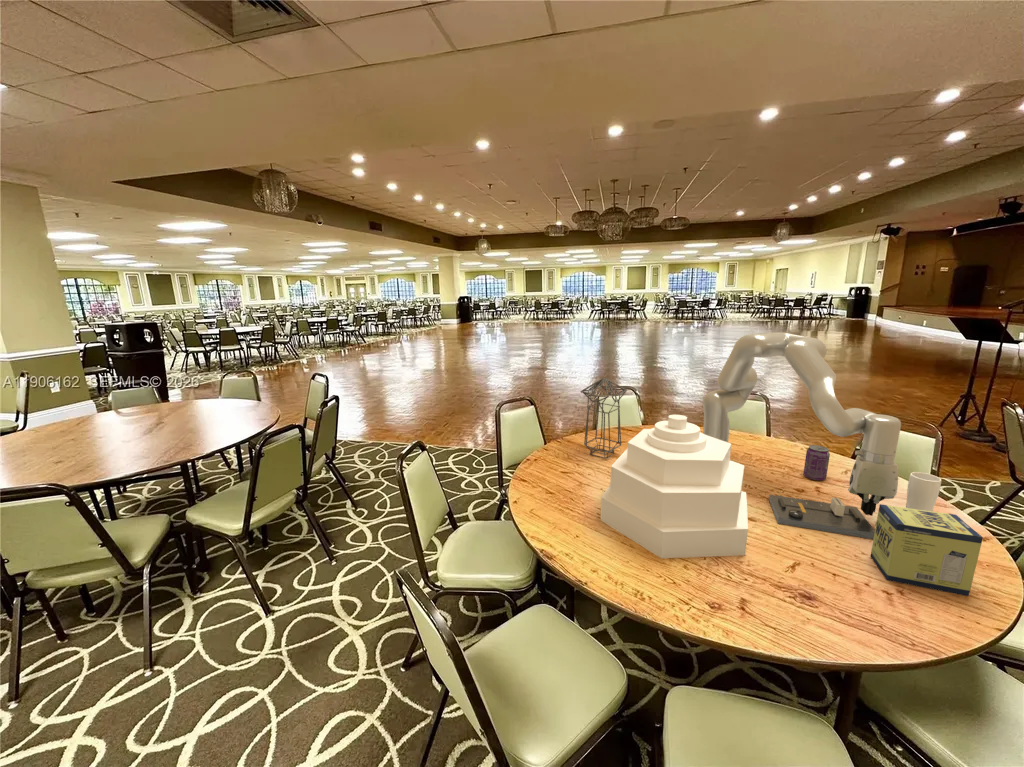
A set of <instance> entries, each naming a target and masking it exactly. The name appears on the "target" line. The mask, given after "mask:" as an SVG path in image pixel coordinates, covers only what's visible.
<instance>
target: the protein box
mask: <svg viewBox="0 0 1024 767" xmlns="http://www.w3.org/2000/svg"><path fill="white" fill-rule="evenodd" d="M877 511H878V512H877V518H876V523H875V528H874V530H875V534H874V539H872V540H873V541H872V544H871V550H870V551H871V552H870V559H871V560H872V561H873V562H874V564H875V565H876V567H877V568H878V570H879V571H880V572H881V574H882V576H883V577H884V580H886V581H890V582H894V583H899V584H905V585H910V586H913V587H919V588H924V589H928V590H929V589H930V590H935V591H939V592H944V593H950V594H955V595H960V596H965V597H969V596H970V592H971V588H972V585H973V580H974V576H975V572H976V569H977V564H978V560H979V556H980V552H981V547H982V543H983V538H984V537H983V536H982V535H981V534H980V533H979V532H978V531H976V530H975V529H973V528H972V527H971V526H970V525H968V524H967V523H966V521H964V520H963V519H962V518H961V517H960V516H958V515H957V514H955V513H946V512H938V511H925V510H917V509H910V508H906V507H903V506H902V507H901V506H894V505H890V504H889V505H888V504H883V503H882V504H880V503H879V506H878V510H877Z"/></svg>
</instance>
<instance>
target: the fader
mask: <svg viewBox="0 0 1024 767" xmlns="http://www.w3.org/2000/svg"><path fill="white" fill-rule="evenodd" d="M830 503H831V505H830V508H831V509H832V511H833V512H834V514H835V515H838V516H843V515H844V509H845V506H846V505H845V503H843V501H842V499H841V498H840V497H839V498H838V497H831V501H830Z"/></svg>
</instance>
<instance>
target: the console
mask: <svg viewBox="0 0 1024 767" xmlns="http://www.w3.org/2000/svg"><path fill="white" fill-rule="evenodd" d="M768 502H769V505H770V507H771V509H772V512H773V514H774V517H775V520H776V521H777V524H778V525H784V526H791V527H797V528H803V529H809V530H816V531H821V532H828V533H833V534H837V535H845V536H850V537H857V538H862V539H867V540H873V539H874V534H875V528H874V527H873V526H872V524H870V522H869V521H868V520H867V519H866V517H865V516H864V515H863V514H862V512H861V510H860V509H859V508H858V507H857V506H852V505H845V509H844V515H843V516H838V515H835V514H834V512H833V511H832V509H831V508H830V505H831V502H830V503H829V502H825V501H824V502H823V501H819V500H818V501H816V500H810V499H803V498H796V497H789V496H783V495H775V494H769V495H768Z"/></svg>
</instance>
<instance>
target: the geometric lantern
mask: <svg viewBox="0 0 1024 767" xmlns="http://www.w3.org/2000/svg"><path fill="white" fill-rule="evenodd" d="M603 384H604V385H603ZM615 386H617V387H618V388H616V387H615ZM598 388H599V389H598ZM597 389H598V391H597ZM601 389H603V390H604V391H605V392H606V395H599V393H600V391H601ZM590 391H591V392H590ZM596 391H597V393H596ZM614 391H615V392H614ZM627 391H628V390H627V389H626V388H625V387H623V386H620V385H619V384H617V383H615V382H613V381H612V380H610V379H608V378H606V377H603V378H600V379H599V380H597V381H595V382H594V383H592V384H590V385H589V386H587V387H585V388H583V389H582V390H580V393H581V394H583V395H584V396H585V397H587V406H586V409H587V412H586V413H587V415H586V424H585V433H584V441H583V442H584V443H583V444H584V446H585V447H586V449H589V451H590V452H589V455H591V456H593V457H597V458H602V459H608V458H610V457H611V456H612V455H614V454H615V450H616V449H618V448H619V447H621V446H622V435H621V434H622V433H621V430H622V429H621V410H620V408H621V406H620V400H621V399H622V397H624V395H625V394H626V393H627ZM595 393H596V395H595ZM592 397H595V400H594V399H592ZM610 397H611V399H612V400H613V404H610V403H609V404H608V403H605V401H606V400H607V399H608V398H610ZM598 398H601V399H598ZM601 401H602V402H601ZM590 402H591V404H589V403H590ZM595 402H596V403H595ZM593 403H594V404H593ZM616 403H617V405H615V404H616ZM589 405H590V406H589ZM595 405H597V410H596V409H593V408H592V409H591V407H594V406H595ZM604 405H606V406H609V407H610V406H611V408H610V409H609V411H607V412H606V411H605V409H604ZM614 407H615V409H613V408H614ZM600 409H601V411H600ZM612 409H613V410H612ZM589 411H593V412H596V413H597V414H596V427H595V436H594V438H592V439H591V440H589V441H588V434H589V432H588V431H589V415H590V414H589V413H590V412H589ZM615 411H617V441H616V440H613V439H611V429H610V428H611V427H610V426H611V424H610V420H611V419H610V413H612V412H615ZM599 413H601V425H600V428H601V429H600V430H601V431H600V437H598V425H599ZM606 414H607V416H608V417H607V420H608V421H607V423H608V424H607V425H608V426H607V427H608V438H605V437H606V436H605V433H606V430H605V428H606ZM597 439H599V444H598V440H597ZM605 440H606V441H608V446H607V445H605ZM593 441H595V442H596V445H595V446H594V447H592V446H589V445H588V444H590V443H591V442H593ZM601 442H603V443H602V445H601ZM611 442H612V443H616V444H615V445H614V446H613V447H612V446H611ZM601 447H602V448H601ZM605 448H607V449H608V450H606V449H605ZM594 453H596V454H594ZM597 453H598V454H601V455H604V456H600V455H597ZM610 453H611V454H610ZM609 454H610V455H609Z"/></svg>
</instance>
